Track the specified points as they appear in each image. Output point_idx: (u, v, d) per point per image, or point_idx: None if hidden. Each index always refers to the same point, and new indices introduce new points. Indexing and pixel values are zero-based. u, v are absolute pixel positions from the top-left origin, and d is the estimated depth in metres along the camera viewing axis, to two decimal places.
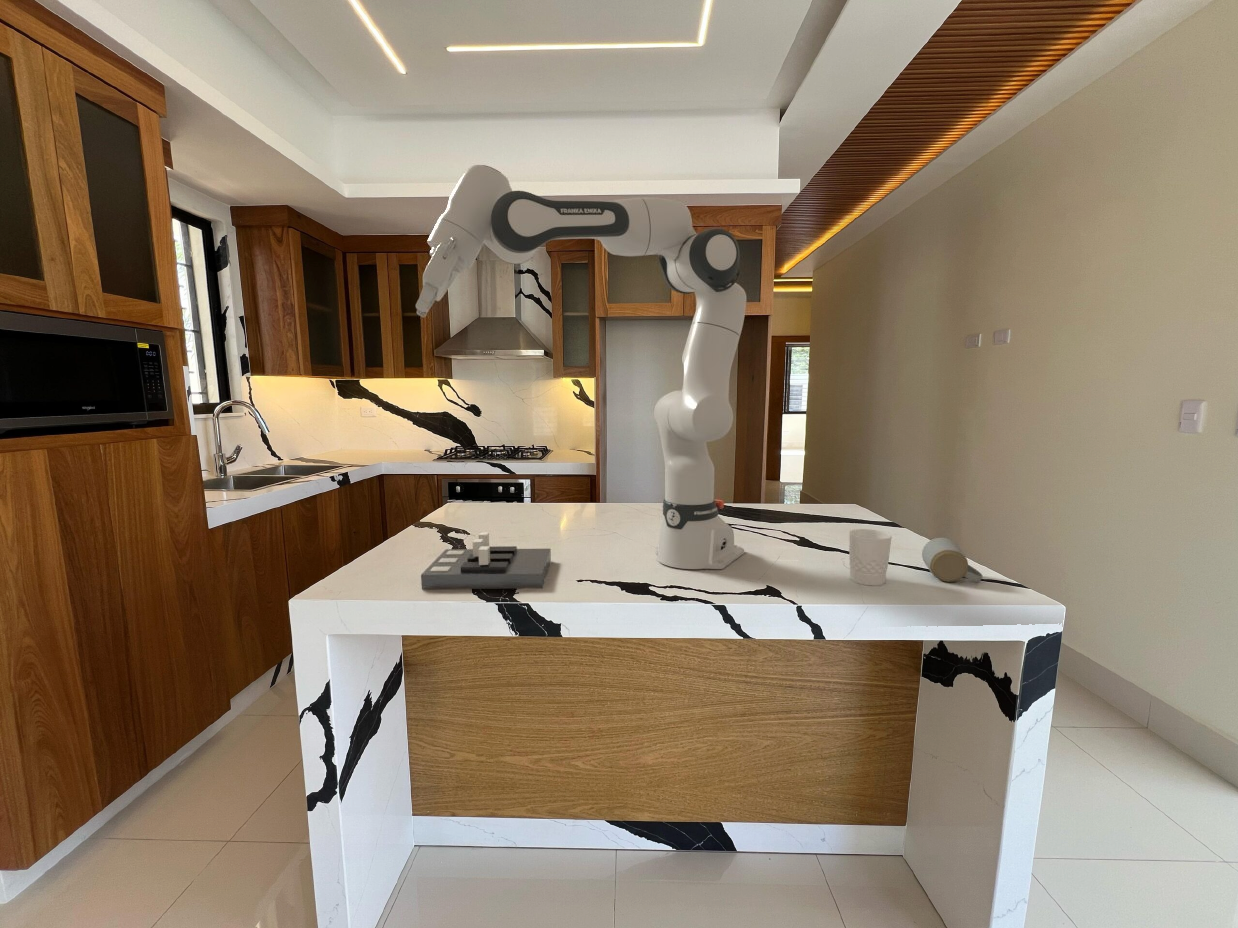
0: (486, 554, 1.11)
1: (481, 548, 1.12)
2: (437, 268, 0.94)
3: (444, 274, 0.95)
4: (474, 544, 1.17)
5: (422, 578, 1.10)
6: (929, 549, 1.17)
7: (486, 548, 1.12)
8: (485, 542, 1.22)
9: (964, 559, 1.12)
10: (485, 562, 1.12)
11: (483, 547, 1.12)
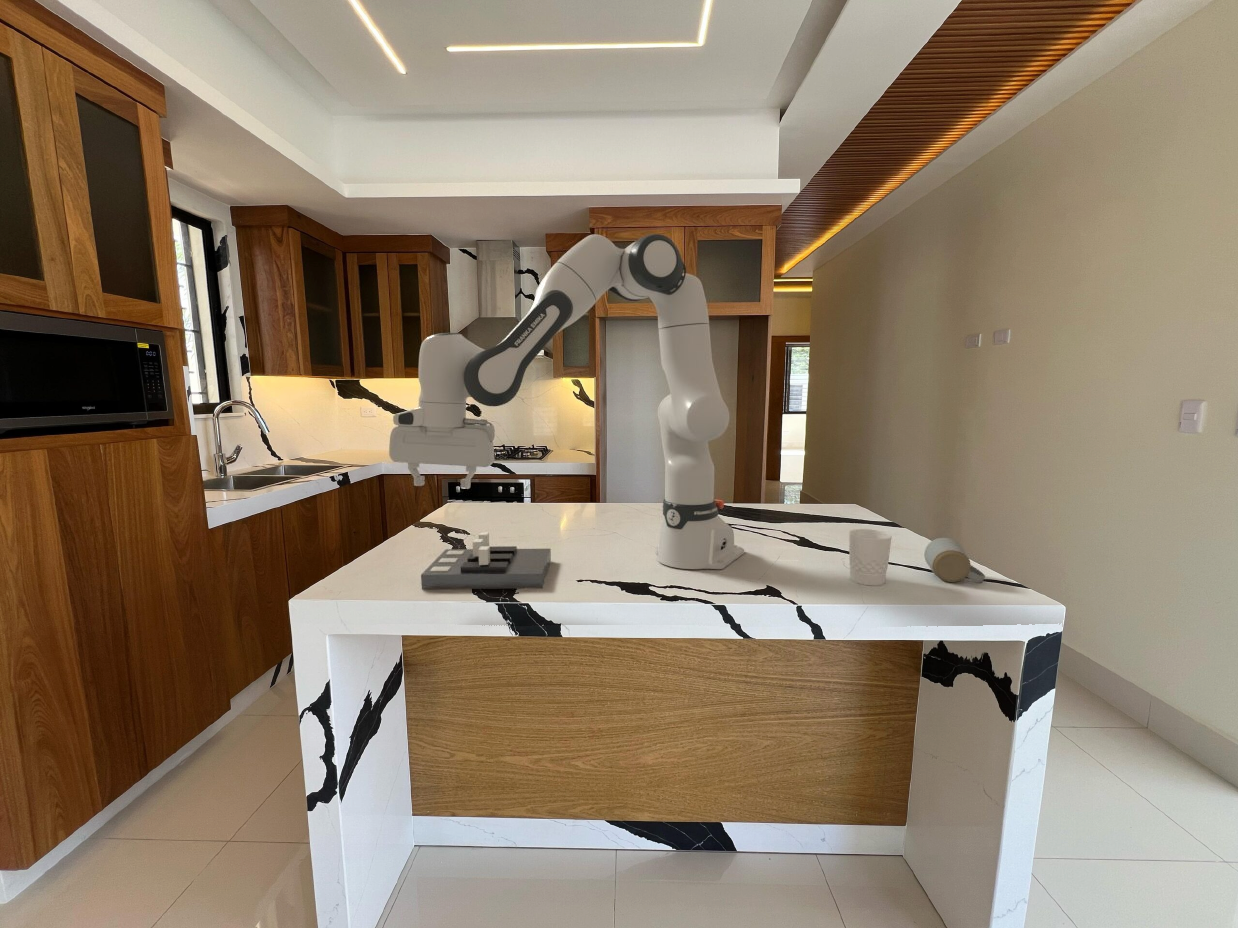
0: (486, 554, 1.11)
1: (481, 548, 1.12)
2: (491, 453, 1.08)
3: None
4: (474, 544, 1.17)
5: (422, 578, 1.10)
6: (931, 550, 1.17)
7: (486, 548, 1.12)
8: (485, 542, 1.22)
9: (966, 559, 1.11)
10: (485, 562, 1.12)
11: (483, 547, 1.12)
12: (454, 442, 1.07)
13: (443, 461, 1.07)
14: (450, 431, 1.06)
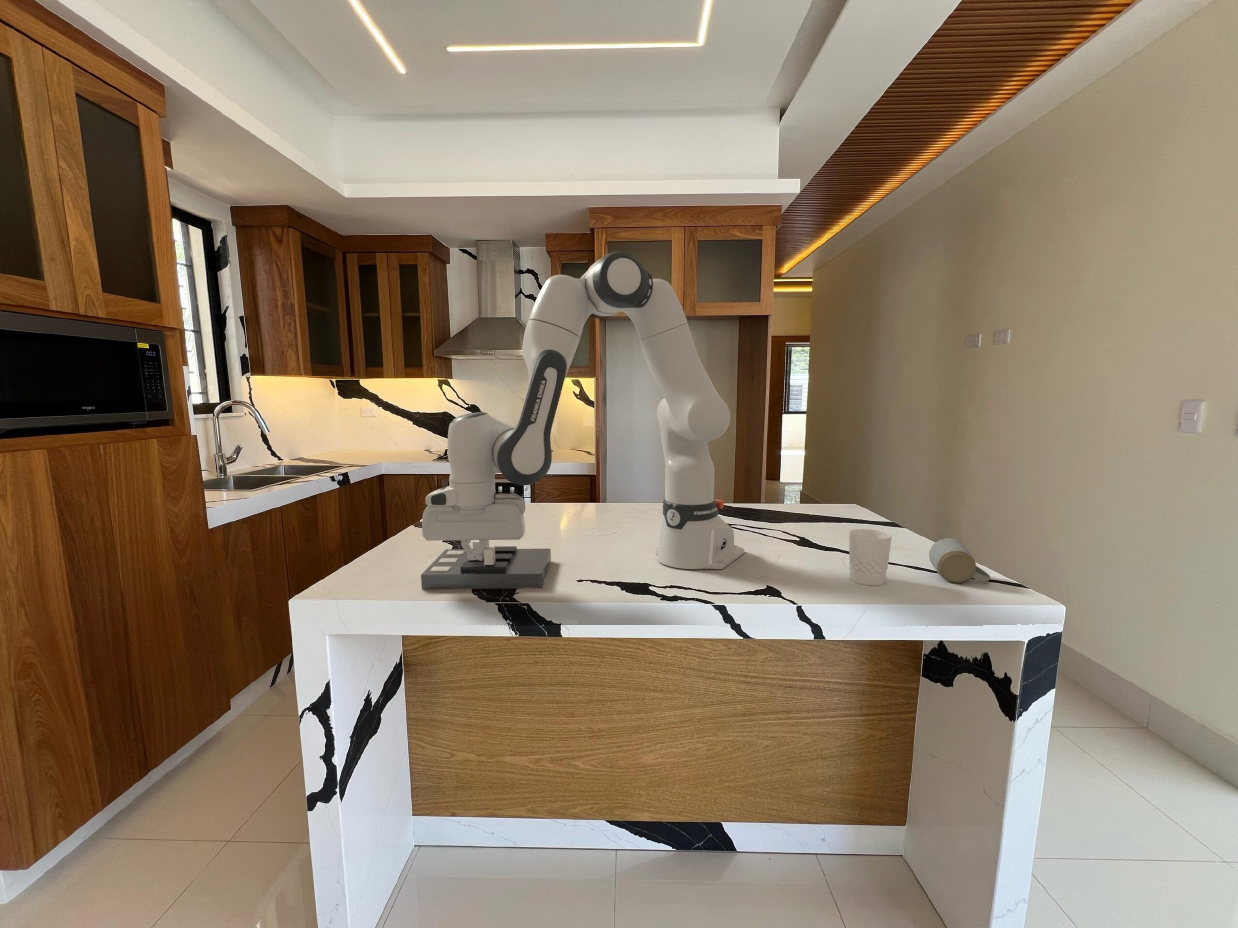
0: (491, 554, 1.11)
1: (486, 548, 1.12)
2: (523, 525, 1.12)
3: (524, 524, 1.13)
4: (474, 544, 1.17)
5: (422, 578, 1.10)
6: (936, 550, 1.16)
7: (491, 548, 1.12)
8: None
9: (972, 560, 1.11)
10: (490, 562, 1.12)
11: (488, 547, 1.12)
12: (487, 517, 1.10)
13: (477, 537, 1.10)
14: (482, 508, 1.09)
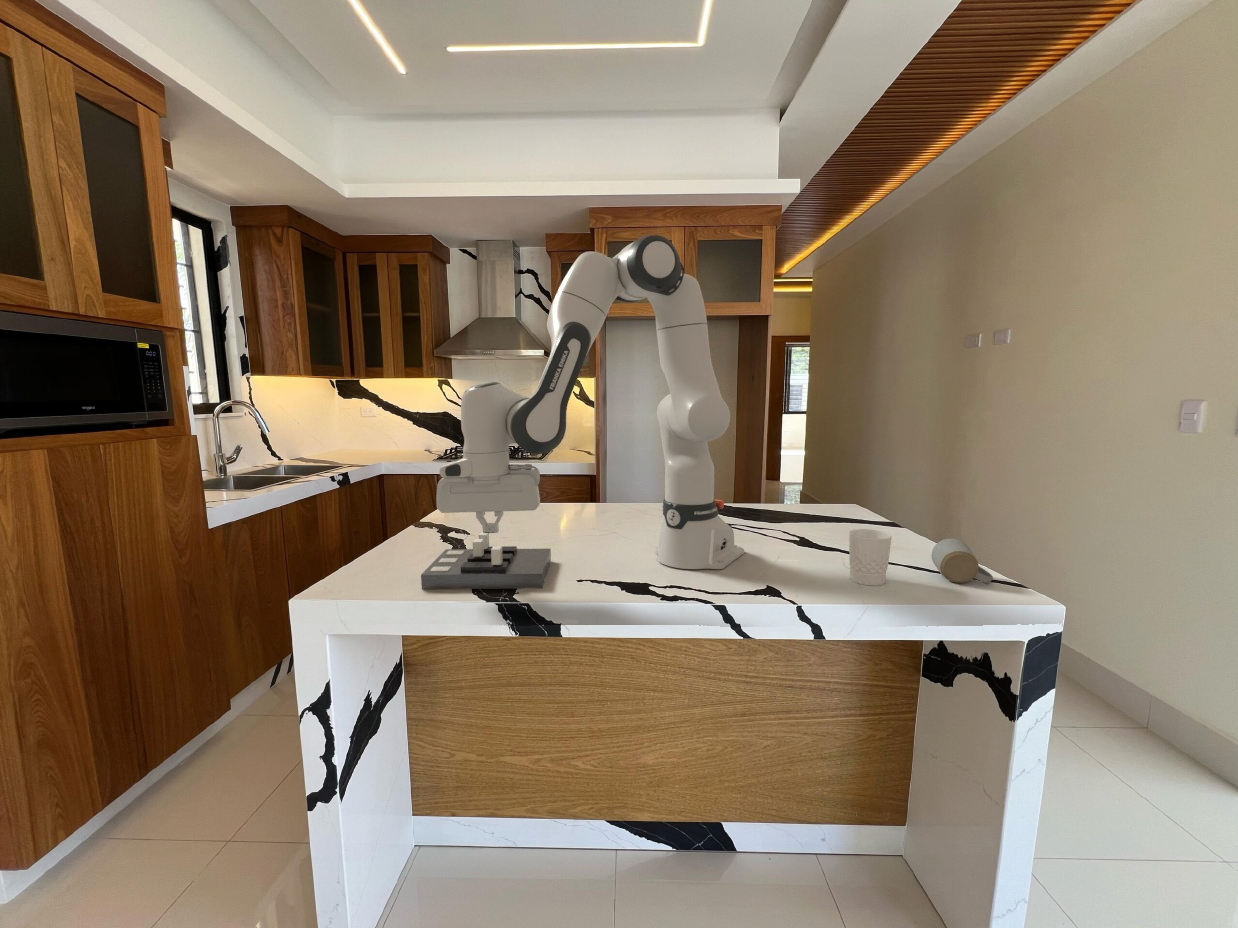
0: (499, 554, 1.11)
1: (494, 548, 1.12)
2: (538, 496, 1.11)
3: (539, 496, 1.12)
4: (474, 544, 1.17)
5: (422, 578, 1.10)
6: (939, 550, 1.16)
7: (499, 548, 1.12)
8: (485, 542, 1.22)
9: (975, 560, 1.11)
10: (498, 562, 1.12)
11: (496, 547, 1.12)
12: (502, 488, 1.09)
13: (492, 508, 1.09)
14: (497, 479, 1.08)
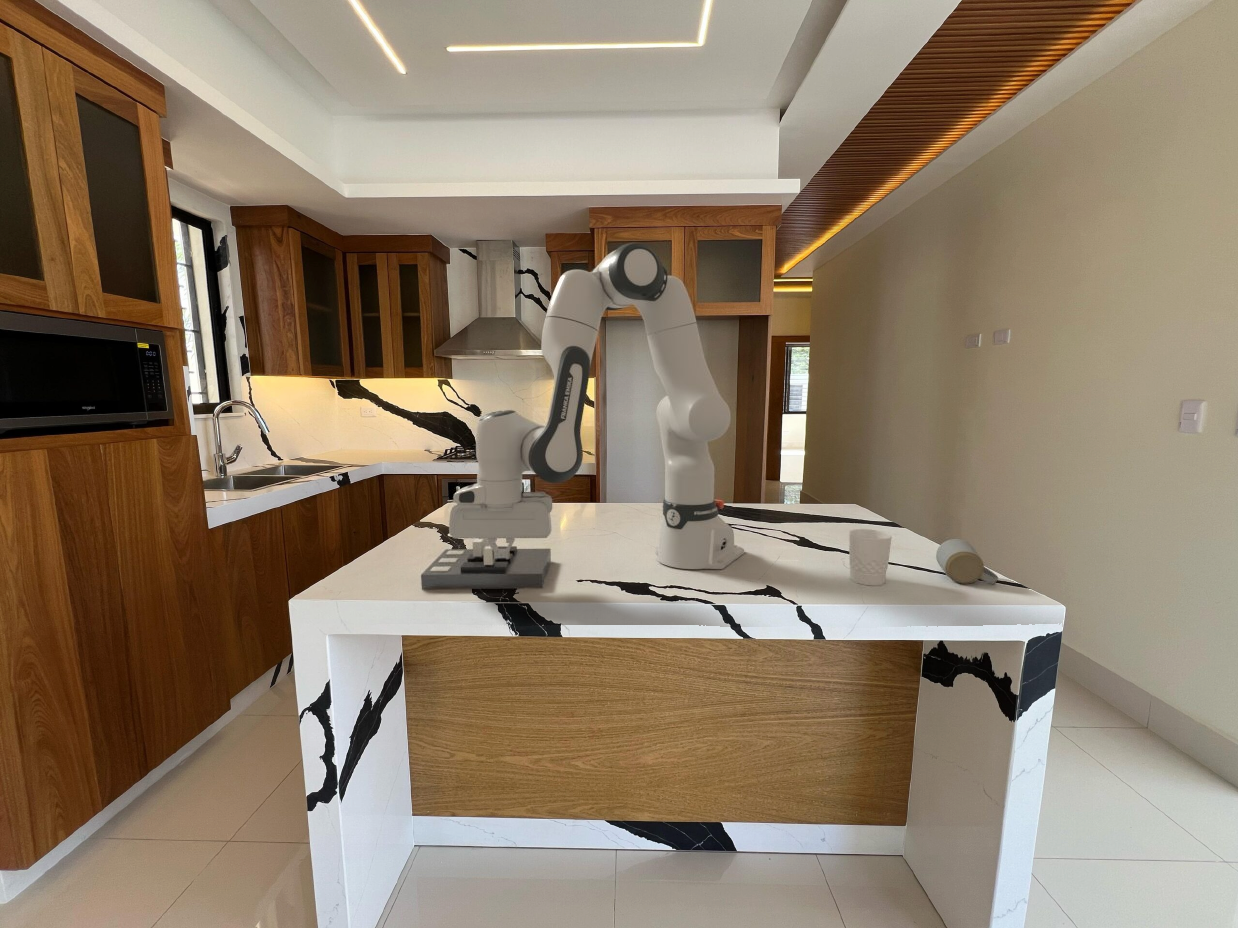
0: (491, 554, 1.11)
1: (486, 548, 1.12)
2: (550, 523, 1.12)
3: None
4: (474, 544, 1.17)
5: (422, 578, 1.10)
6: (944, 551, 1.16)
7: (491, 548, 1.12)
8: (485, 542, 1.22)
9: (980, 561, 1.11)
10: (490, 562, 1.12)
11: (488, 547, 1.12)
12: (514, 516, 1.10)
13: (504, 535, 1.10)
14: (510, 506, 1.09)
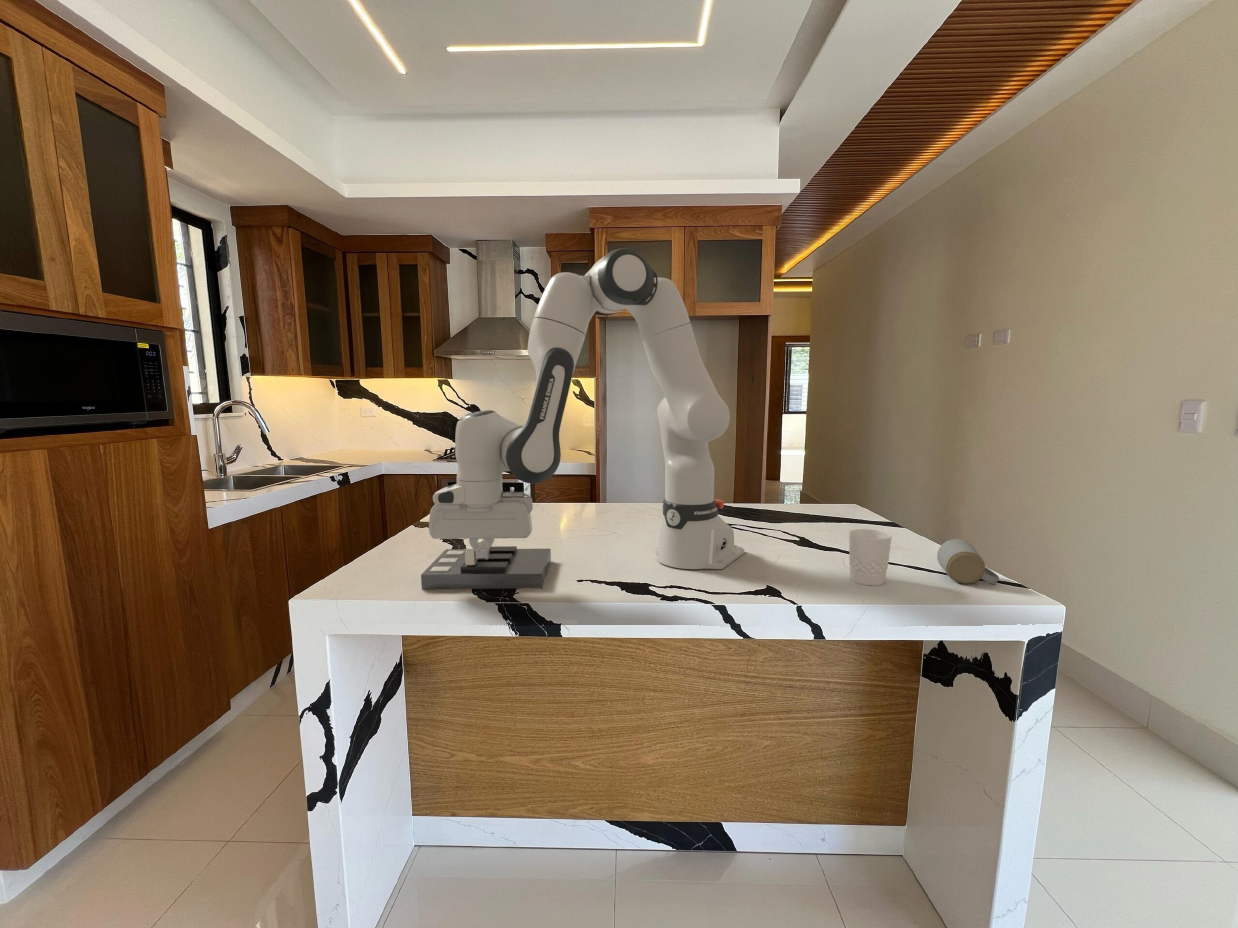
0: (472, 554, 1.11)
1: (468, 548, 1.12)
2: (530, 523, 1.11)
3: (531, 523, 1.13)
4: None
5: (422, 578, 1.10)
6: (945, 551, 1.16)
7: None
8: None
9: (981, 561, 1.11)
10: (472, 562, 1.12)
11: (470, 547, 1.12)
12: (494, 516, 1.10)
13: (484, 535, 1.10)
14: (490, 506, 1.09)
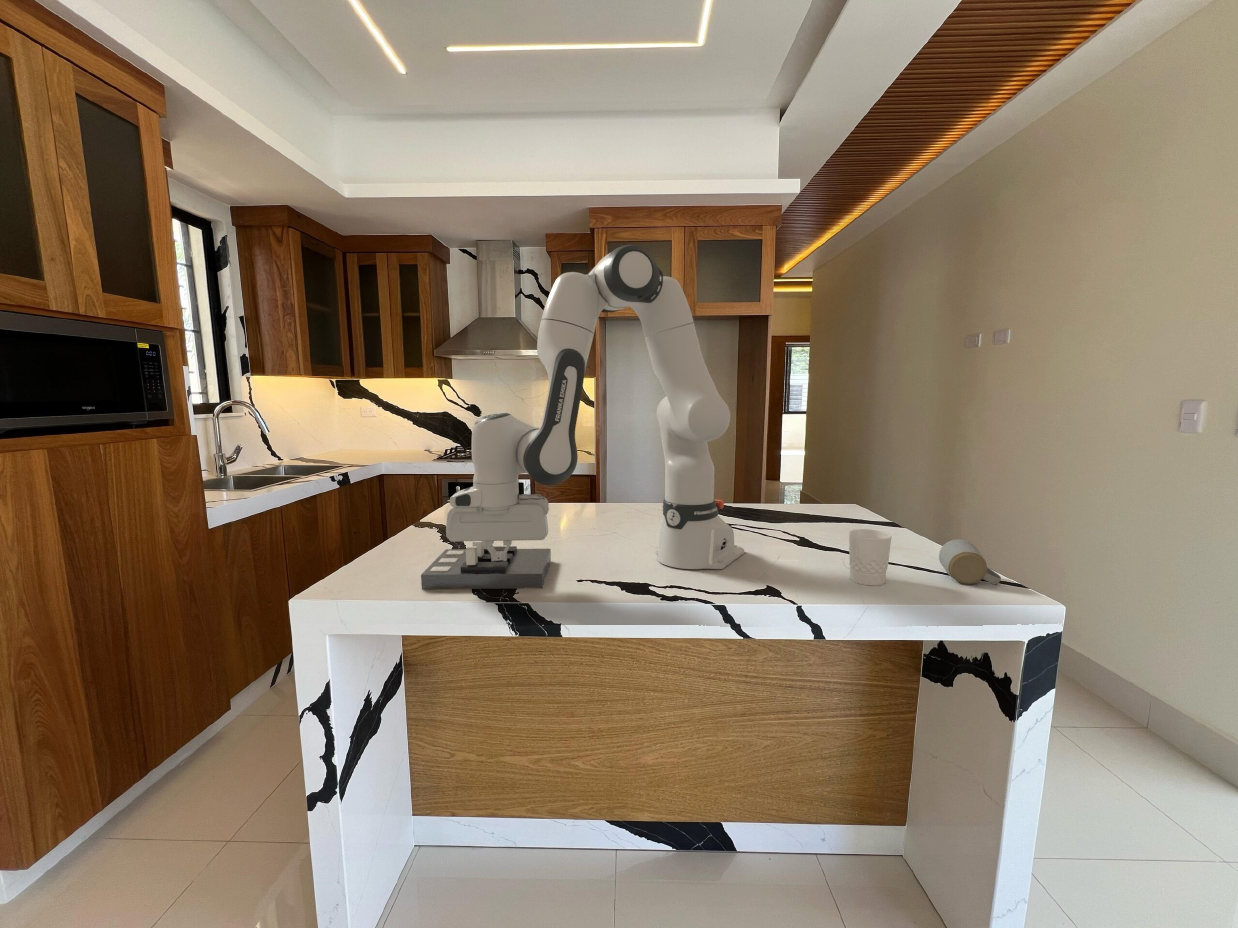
0: (473, 554, 1.11)
1: (468, 548, 1.12)
2: (547, 525, 1.12)
3: (547, 525, 1.13)
4: (474, 544, 1.17)
5: (422, 578, 1.10)
6: (947, 551, 1.16)
7: (473, 548, 1.12)
8: None
9: (983, 561, 1.10)
10: (472, 562, 1.12)
11: (470, 547, 1.12)
12: (511, 518, 1.10)
13: (501, 537, 1.10)
14: (506, 508, 1.09)
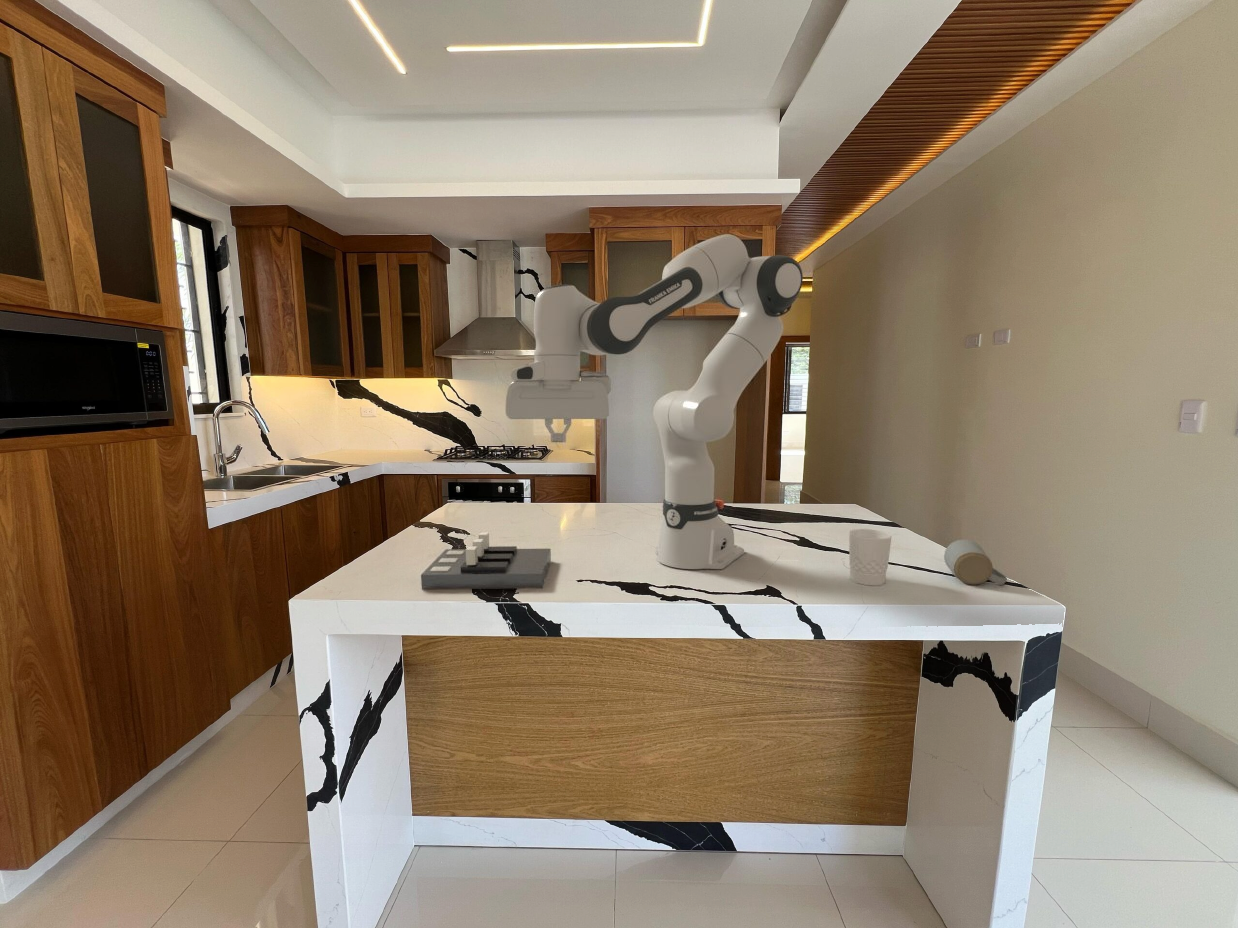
0: (473, 554, 1.11)
1: (468, 548, 1.12)
2: None
3: None
4: (474, 544, 1.17)
5: (422, 578, 1.10)
6: (952, 552, 1.15)
7: (473, 548, 1.12)
8: (485, 542, 1.22)
9: (989, 561, 1.10)
10: (472, 562, 1.12)
11: (470, 547, 1.12)
12: (573, 395, 1.07)
13: (562, 415, 1.07)
14: (569, 384, 1.06)
